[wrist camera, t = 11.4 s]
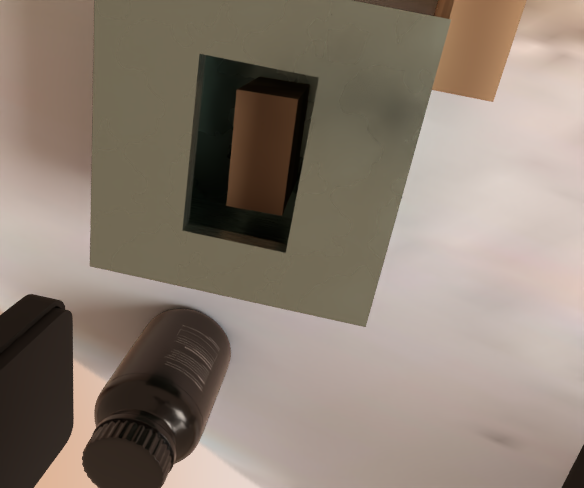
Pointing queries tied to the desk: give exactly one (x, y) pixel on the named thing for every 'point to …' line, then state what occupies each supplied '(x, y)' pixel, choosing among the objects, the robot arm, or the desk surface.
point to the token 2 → (476, 45)
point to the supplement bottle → (157, 401)
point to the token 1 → (266, 144)
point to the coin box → (218, 142)
